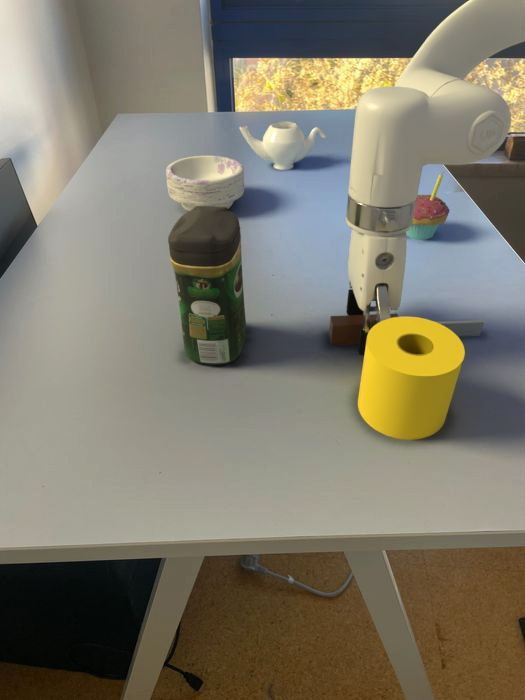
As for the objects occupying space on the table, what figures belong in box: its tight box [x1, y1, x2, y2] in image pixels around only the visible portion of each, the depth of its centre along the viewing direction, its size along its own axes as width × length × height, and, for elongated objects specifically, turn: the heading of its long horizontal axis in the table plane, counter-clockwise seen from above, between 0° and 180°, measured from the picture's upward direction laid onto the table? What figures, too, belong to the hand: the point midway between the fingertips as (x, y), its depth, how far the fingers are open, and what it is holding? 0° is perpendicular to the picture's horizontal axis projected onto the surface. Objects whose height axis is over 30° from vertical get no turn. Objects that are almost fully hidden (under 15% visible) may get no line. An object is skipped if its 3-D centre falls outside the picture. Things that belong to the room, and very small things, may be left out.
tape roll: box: [357, 316, 466, 441], centre depth 57 cm, size 10×10×9 cm
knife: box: [328, 313, 485, 346], centre depth 69 cm, size 20×2×3 cm, turn 92°
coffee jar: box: [167, 206, 247, 366], centre depth 64 cm, size 10×8×19 cm
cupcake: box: [406, 170, 451, 241], centre depth 90 cm, size 9×8×12 cm
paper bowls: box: [165, 155, 245, 212], centre depth 103 cm, size 15×15×8 cm
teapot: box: [239, 121, 328, 171], centre depth 119 cm, size 10×20×9 cm, turn 92°
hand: (363, 332), depth 69 cm, fingers open, 8 cm apart
